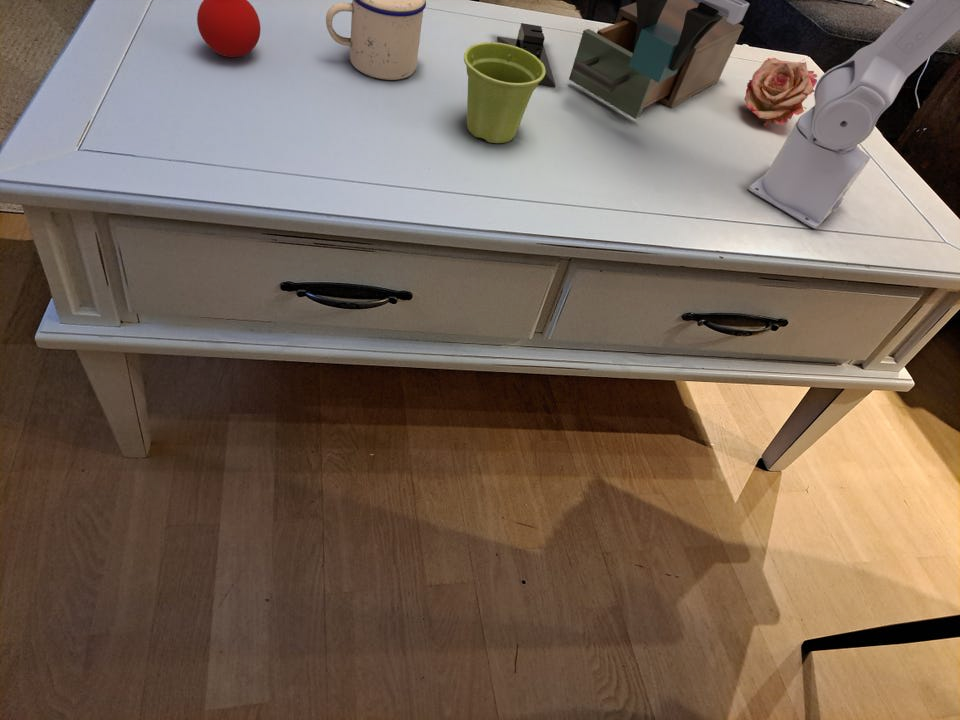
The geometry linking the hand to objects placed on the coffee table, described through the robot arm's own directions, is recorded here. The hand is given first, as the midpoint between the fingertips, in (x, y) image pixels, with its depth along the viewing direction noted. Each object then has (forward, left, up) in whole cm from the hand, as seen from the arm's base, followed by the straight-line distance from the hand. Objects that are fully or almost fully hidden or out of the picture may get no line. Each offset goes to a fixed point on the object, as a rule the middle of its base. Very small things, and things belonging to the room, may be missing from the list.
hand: (656, 58), depth 82 cm
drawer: (+7, -8, -10) cm, 14 cm away
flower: (-9, -24, -11) cm, 28 cm away
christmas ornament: (+40, +31, -11) cm, 52 cm away
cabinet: (+7, -20, -10) cm, 23 cm away
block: (0, 0, -1) cm, 1 cm away
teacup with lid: (+30, +17, -11) cm, 36 cm away
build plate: (+20, -3, -11) cm, 23 cm away
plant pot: (+11, +15, -11) cm, 22 cm away
